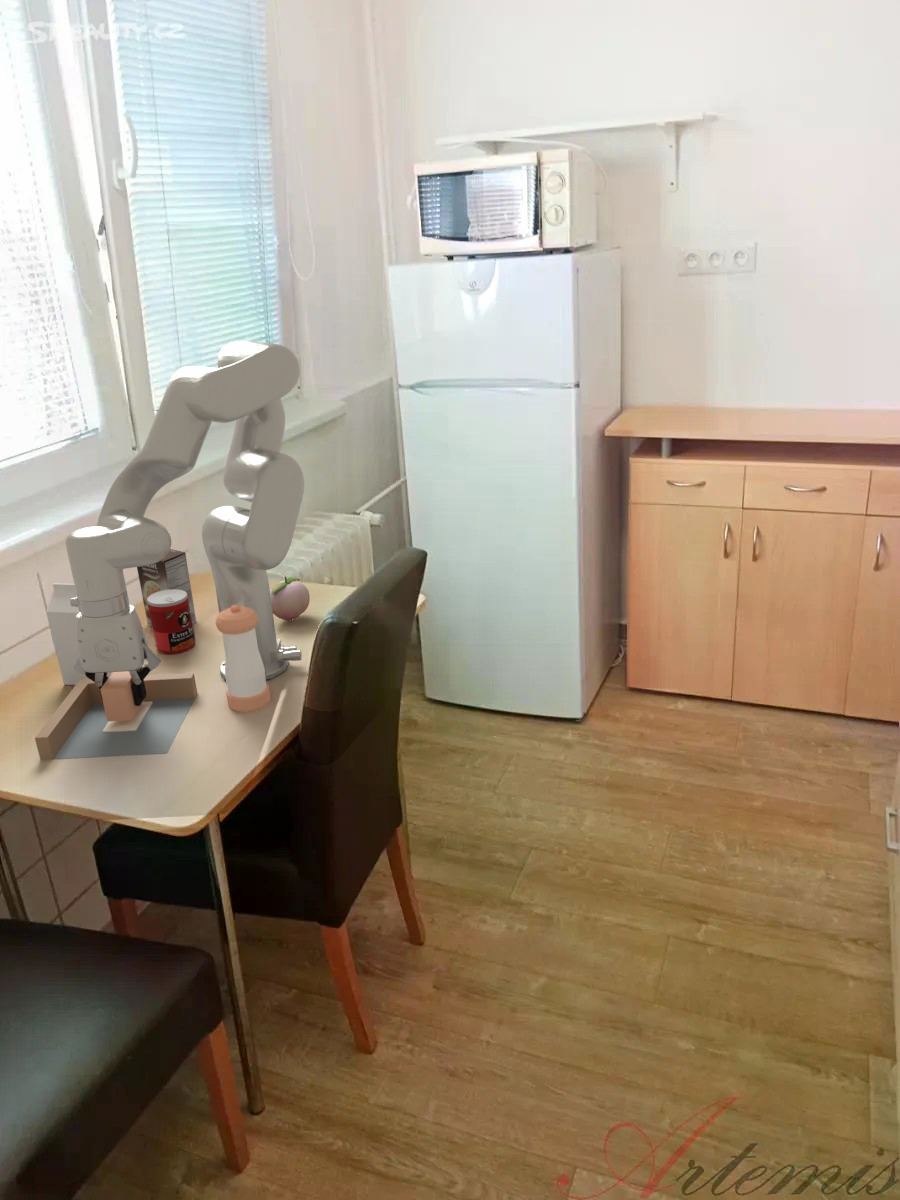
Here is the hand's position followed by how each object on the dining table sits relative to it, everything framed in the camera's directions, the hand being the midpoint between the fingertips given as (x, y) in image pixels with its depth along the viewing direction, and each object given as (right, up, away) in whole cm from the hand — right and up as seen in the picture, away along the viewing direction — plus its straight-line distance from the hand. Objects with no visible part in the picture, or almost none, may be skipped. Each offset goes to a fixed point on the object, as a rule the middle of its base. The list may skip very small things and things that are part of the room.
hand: (125, 701), depth 155 cm
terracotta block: (0, -1, +1) cm, 1 cm away
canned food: (0, +8, +30) cm, 31 cm away
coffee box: (-4, +12, +41) cm, 43 cm away
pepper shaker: (+20, -2, +5) cm, 21 cm away
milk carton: (-13, +2, +19) cm, 23 cm away
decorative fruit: (+22, +13, +39) cm, 46 cm away
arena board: (0, -5, -1) cm, 5 cm away
